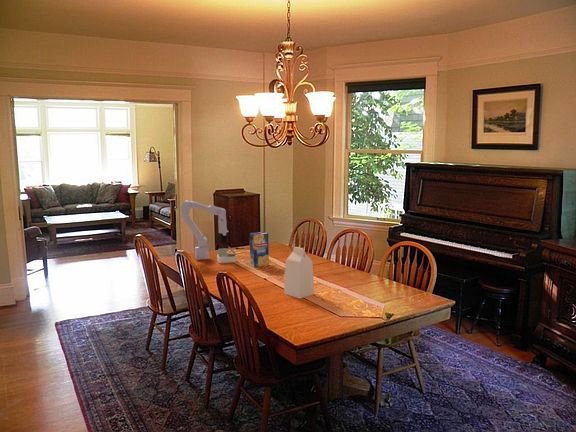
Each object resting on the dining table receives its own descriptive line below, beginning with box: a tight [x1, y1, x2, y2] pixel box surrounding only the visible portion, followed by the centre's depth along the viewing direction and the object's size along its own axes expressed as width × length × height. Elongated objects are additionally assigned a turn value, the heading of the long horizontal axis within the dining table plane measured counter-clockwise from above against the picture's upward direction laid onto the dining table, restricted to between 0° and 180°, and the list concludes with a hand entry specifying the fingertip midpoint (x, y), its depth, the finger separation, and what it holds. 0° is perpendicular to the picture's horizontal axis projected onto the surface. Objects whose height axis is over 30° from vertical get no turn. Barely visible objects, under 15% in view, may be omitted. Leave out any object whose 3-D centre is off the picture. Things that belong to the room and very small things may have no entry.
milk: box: [283, 246, 315, 299], centre depth 262 cm, size 12×12×26 cm
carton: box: [216, 253, 237, 264], centre depth 338 cm, size 12×9×4 cm
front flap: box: [217, 247, 228, 257], centre depth 334 cm, size 6×6×1 cm
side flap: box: [227, 246, 237, 256], centre depth 338 cm, size 6×8×1 cm
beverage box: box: [249, 231, 270, 268], centre depth 325 cm, size 7×11×22 cm, turn 119°
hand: (223, 243), depth 347 cm, fingers open, 2 cm apart
